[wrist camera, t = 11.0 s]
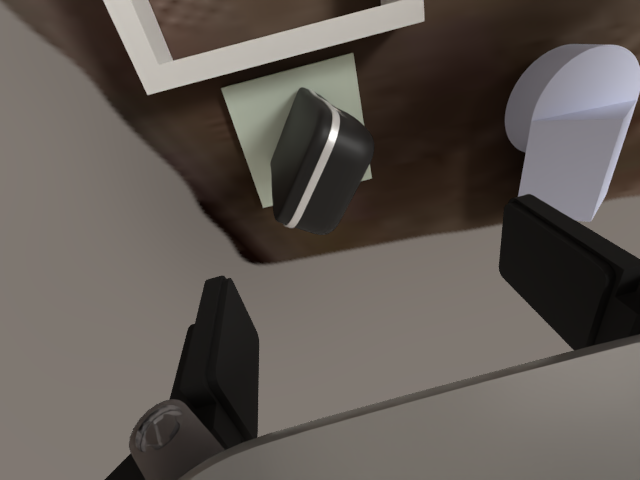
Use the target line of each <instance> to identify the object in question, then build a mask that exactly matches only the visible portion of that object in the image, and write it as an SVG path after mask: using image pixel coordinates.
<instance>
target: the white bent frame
mask: <svg viewBox="0 0 640 480" xmlns="http://www.w3.org/2000/svg"><path fill="white" fill-rule="evenodd" d="M103 1H104V3H105V5H106V8H107V10H108V12H109V14H110V16H111V18H112V20H113V23H114V25H115V27H116V29H117V31H118V33H119V35H120V37H121V40H122V42H123V44H124V46H125V48H126V50H127V52H128V55H129V57H130V59H131V61H132V63H133V65H134V67H135V69H136V72H137V74H138V76H139V78H140V80H141V82H142V84H143V87H144V89H145V91H146V93H147V95H150V94H154V93H157V92H161V91H165V90H169V89H172V88H176V87H180V86H184V85H187V84H191V83H195V82H199V81H202V80H206V79H210V78H214V77H217V76H221V75H225V74H229V73H232V72H236V71H240V70H244V69H247V68H251V67H255V66H259V65H262V64H266V63H270V62H274V61H277V60H281V59H285V58H289V57H292V56H296V55H300V54H304V53H307V52H311V51H315V50H319V49H322V48H326V47H330V46H334V45H337V44H341V43H345V42H349V41H352V40H356V39H360V38H364V37H367V36H371V35H375V34H379V33H382V32H386V31H390V30H394V29H397V28H401V27H405V26H409V25H412V24H416V23H420V22H424V21H425V20H424V0H381V6H378V7H374V8H370V9H367V10H363V11H359V12H355V13H352V14H348V15H344V16H340V17H336V18H333V19H329V20H325V21H321V22H318V23H314V24H310V25H306V26H303V27H299V28H295V29H291V30H288V31H284V32H280V33H276V34H272V35H269V36H265V37H261V38H257V39H254V40H250V41H246V42H242V43H239V44H235V45H231V46H227V47H224V48H220V49H216V50H212V51H209V52H205V53H201V54H197V55H193V56H190V57H186V58H182V59H178V60H175V61H173V59H172V57H171V54H170V52H169V49H168V47H167V44H166V42H165V40H164V37H163V35H162V32H161V30H160V27H159V25H158V22H157V20H156V18H155V15H154V13H153V10H152V8H151V5H150V3H149V0H103Z"/></svg>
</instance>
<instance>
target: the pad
mask: <svg viewBox="0 0 640 480" xmlns="http://www.w3.org/2000/svg"><path fill="white" fill-rule="evenodd" d="M301 87H303V88H306V89H311V90H313V91H314V92H315V93H317V94H319V95H321V96H322V97H323V98H325V99H326V100H327V101H328V102H329V103H330V104H331V105H333V106H335V107H336V108H338V109H340V110H343V111H345V112H347V113H348V114H350V115H352V116H353V117H355V118H356V119H357V120H358V121H360V122H361V123H362V124H363V125H364V122H363V115H362V108H361V101H360V95H359V88H358V81H357V74H356V67H355V61H354V54H353V53H349V54H345V55H341V56H338V57H334V58H330V59H326V60H323V61H319V62H315V63H312V64H308V65H304V66H300V67H297V68H293V69H289V70H285V71H282V72H278V73H274V74H270V75H267V76H263V77H259V78H255V79H252V80H248V81H244V82H240V83H237V84H233V85H229V86H225V87H222V88H221V90H222V93H223V96H224V99H225V101H226V104H227V107H228V110H229V113H230V116H231V118H232V121H233V124H234V127H235V130H236V132H237V135H238V138H239V141H240V144H241V147H242V149H243V152H244V155H245V158H246V161H247V164H248V166H249V169H250V172H251V175H252V178H253V181H254V183H255V186H256V189H257V192H258V195H259V197H260V200H261V203H262V206H263V208H265V207H269V206H273V201H272V180H271V166H270V162H271V159H272V157H273V154H274V151H275V149H276V146H277V144H278V141H279V138H280V136H281V133H282V130H283V128H284V125H285V123H286V120H287V117H288V115H289V112H290V110H291V107H292V104H293V102H294V99H295V97H296V94H297V92H298V90H299V88H301ZM368 179H372V176H371V169H370V164H369V166H368V168H367V170H366V172H365V174H364V176H363V178H362V180H361V181H364V180H368Z"/></svg>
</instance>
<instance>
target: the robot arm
mask: <svg viewBox="0 0 640 480" xmlns="http://www.w3.org/2000/svg"><path fill="white" fill-rule="evenodd" d="M499 271H500V274H501V276H502V277H503V278H504V279H505V280H506V281H507V282H508V283H509V284H510V285H511V286H512V287H513V288H514V289H515V290H516V291H517V293H518V294H520V296H521V297H523V299H525V301H526V302H528V304H529V305H530V306H531V307H532V308H533V309H534V310H535V311H536V312H537V313H538V314H539V315H540V316H541V317H542V318H543V319H544V320H545V321H546V322H547V323H548V324H549V325H550V326H551V327H552V328H553V329H554V330H555V331H556V332H557V333H558V334H559V335H560V336H561V337H562V339H564V341H565V342H566V343H567V344H569V346H570V347H571V348H572V349H573V350H574V351H571V352H567V353H563V354H559V355H556V356H551V357H548V358H544V359H540V360H536V361H533V362H529V363H525V364H521V365H517V366H513V367H509V368H506V369H502V370H499V371H495V372H491V373H487V374H483V375H479V376H476V377H472V378H468V379H464V380H461V381H457V382H453V383H450V384H446V385H442V386H438V387H435V388H431V389H427V390H424V391H420V392H416V393H412V394H408V395H405V396H401V397H397V398H394V399H390V400H387V401H383V402H379V403H376V404H372V405H368V406H365V407H361V408H357V409H354V410H350V411H346V412H343V413H339V414H336V415H332V416H328V417H325V418H321V419H317V420H314V421H310V422H307V423H304V424H300V425H297V426H294V427H290V428H287V429H283V430H280V431H276V432H273V433H270V434H266V435H264V436H261V437H258V438H257V432H258V377H259V376H258V375H259V338H258V334H257V331H256V329H255V327H254V325H253V323H252V321H251V318H250V316H249V314H248V312H247V310H246V308H245V306H244V304H243V302H242V299H241V297H240V295H239V293H238V291H237V289H236V287H235V285H234V283H233V281H232V279H231V278H228V279H226V278H225V277H224V276H219V277H215V278H212V279H208V280H206V281H205V284H204V288H203V293H202V297H201V301H200V305H199V309H198V313H197V318H196V322H195V324H192V325H191V326H190V327H189V328H188V331H187V335H186V339H185V342H184V346H183V350H182V354H181V358H180V362H179V366H178V370H177V373H176V378H175V381H174V385H173V389H172V393H171V396H170V400H166V401H163V402H161V403H159V404H156V405H155V406H154V407H152V408H151V409H149V410H148V411H147V412H146V413H145V414H144V415H143V416H142V417H141V418H140V419H139V421H138V422H137V424H136V425H135V427H134V428H133V431H132V433H131V436H130V441H129V448H130V452H131V454H130V455H129V456H128V457H127V458H126V459H125V460H124V461H123V462H122V463H121V464H120V465H119V466H118V467H117V468H116V469H115V470H114V471H113V472H112V473H111V474H110V475H109V476H108V477H107V478H106V479H105V480H640V259H638V258H637V257H635V256H633V255H632V254H630V253H628V252H627V251H625V250H623V249H621V248H620V247H618V246H617V245H615V244H613V243H612V242H610V241H608V240H607V239H605V238H603V237H602V236H600V235H598V234H597V233H595V232H593V231H592V230H590V229H589V228H587V227H585V226H583V225H582V224H580V223H578V222H577V221H575V220H574V219H572V218H570V217H569V216H567V215H565V214H564V213H562V212H560V211H559V210H557V209H555V208H554V207H552V206H550V205H549V204H547V203H545V202H544V201H542V200H540V199H539V198H537V197H535V196H534V195H531V194H526V195H523V196H519V197H515V198H512V199H510V200H509V202H508V204H507V205H505V207H504V215H503V227H502V238H501V249H500V261H499Z"/></svg>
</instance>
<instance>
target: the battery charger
mask: <svg viewBox="0 0 640 480" xmlns="http://www.w3.org/2000/svg"><path fill="white" fill-rule="evenodd" d="M373 153H374V141H373V138H372V136H371V134H370V133H369V131H368V130H367V129H366V128H365V127H364V125H363V124H362V123H361V122H360V121H358V120H357V119H356V118H355V117H353V116H352V115H350V114H348V113H347V112H345V111H343V110H340V109H338V108H336V107H335V106H333V105H331V104H330V103H329V102H328V101H327V100H326V99H325V98H323V97H322V96H321V95H319V94H317V93H315V92H314V91H313V90H311V89H306V88H303V87H301V88H299V90H298V92H297V94H296V97H295V99H294V102H293V104H292V107H291V110H290V112H289V115H288V117H287V120H286V123H285V125H284V128H283V130H282V133H281V136H280V138H279V141H278V144H277V146H276V149H275V151H274V154H273V157H272V159H271V162H270V166H271V180H272V201H273V211H274V216H275V219H276V221H278V222H280V223H283V225H284V226H286V227H289V228H294V227H295V228H298V229H301V230H304V231H308V232H311V233H314V234H319V235H325V234H328V233H330V232H331V231H333V230H334V229H335V228H336V227H337V225H338V224H339V222H340V220H341V218H342V216H343V215H344V213H345V211H346V209H347V207H348V205H349V203H350V201H351V200H352V198H353V196H354V194H355V192H356V190H357V188H358V186H359V184H360V182H361V180H362V178H363V176H364V174H365V172H366V170H367V168H368V166H369V164H370V162H371V160H372V157H373Z"/></svg>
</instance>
